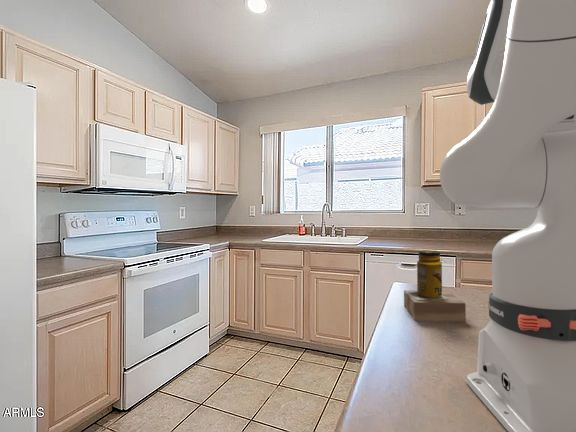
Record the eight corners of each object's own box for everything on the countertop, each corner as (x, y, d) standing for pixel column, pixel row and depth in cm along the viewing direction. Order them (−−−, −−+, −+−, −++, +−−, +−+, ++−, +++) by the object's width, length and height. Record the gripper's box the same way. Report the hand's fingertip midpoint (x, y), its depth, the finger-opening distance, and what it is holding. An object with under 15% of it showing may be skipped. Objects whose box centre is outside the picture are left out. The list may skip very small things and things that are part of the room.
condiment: (449, 299, 84) (448, 252, 84) (417, 300, 83) (417, 253, 83) (433, 292, 91) (433, 249, 91) (404, 293, 90) (404, 250, 90)
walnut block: (465, 323, 80) (465, 303, 80) (414, 322, 82) (414, 302, 82) (448, 308, 92) (448, 290, 92) (404, 307, 94) (404, 290, 94)
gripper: (484, 119, 78) (484, 177, 78) (588, 110, 72) (588, 173, 72) (476, 125, 84) (477, 179, 84) (572, 118, 78) (572, 176, 78)
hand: (529, 176), depth 78 cm, fingers open, 8 cm apart
